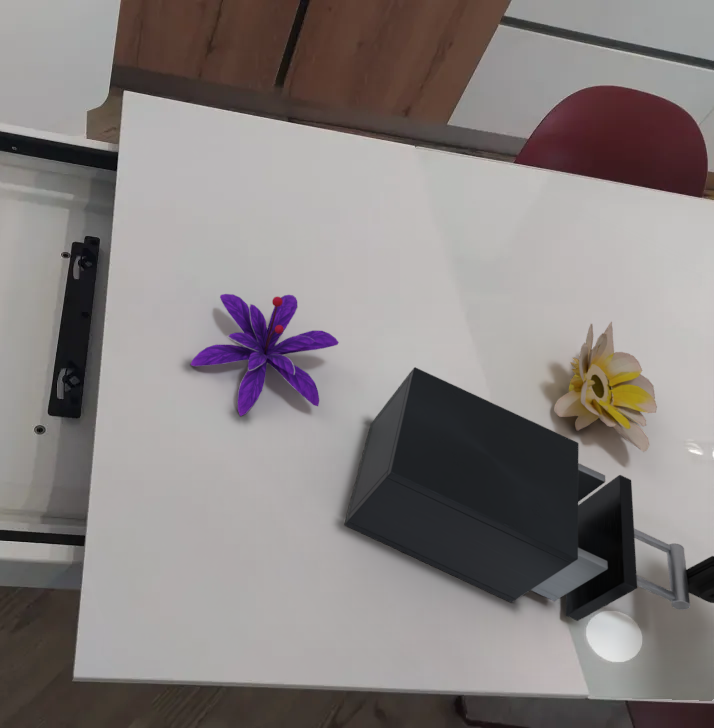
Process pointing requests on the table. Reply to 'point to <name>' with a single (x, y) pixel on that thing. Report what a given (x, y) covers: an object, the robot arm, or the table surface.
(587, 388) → the decorative flower
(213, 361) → the decorative flower
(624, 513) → the drawer with silver handle
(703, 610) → the table surface
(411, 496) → the cabinet
